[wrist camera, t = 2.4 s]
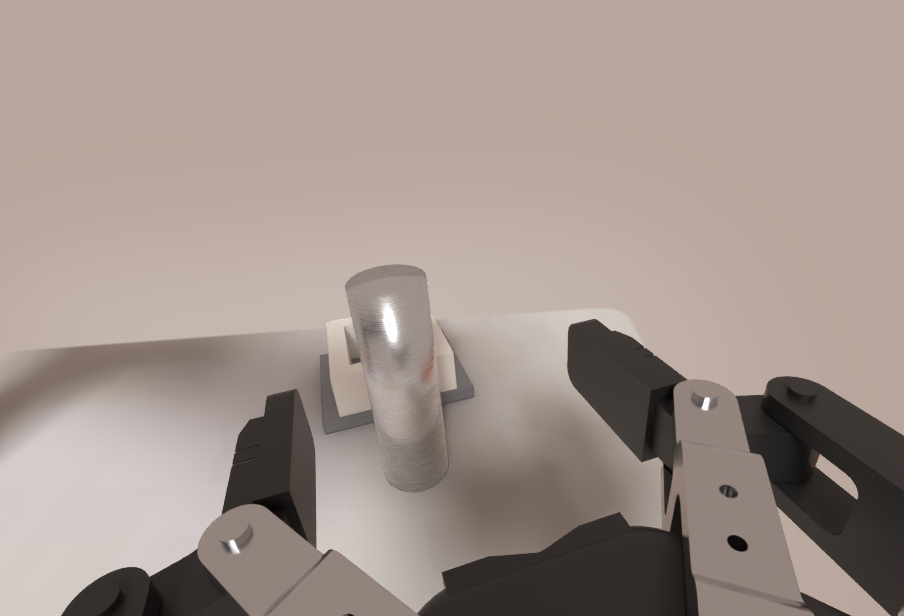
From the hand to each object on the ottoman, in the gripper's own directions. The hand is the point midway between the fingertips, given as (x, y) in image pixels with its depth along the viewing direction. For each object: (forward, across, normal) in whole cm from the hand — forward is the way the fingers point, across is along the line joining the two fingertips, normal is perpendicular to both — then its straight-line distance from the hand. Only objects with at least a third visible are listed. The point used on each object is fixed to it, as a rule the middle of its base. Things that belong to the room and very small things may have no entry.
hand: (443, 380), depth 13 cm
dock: (+23, 0, +16) cm, 28 cm away
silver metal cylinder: (+12, 0, +16) cm, 20 cm away
